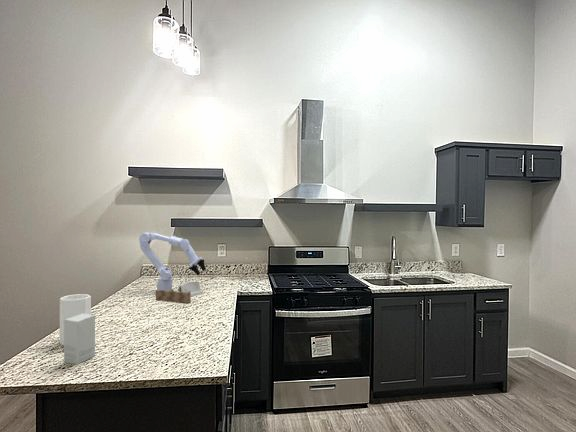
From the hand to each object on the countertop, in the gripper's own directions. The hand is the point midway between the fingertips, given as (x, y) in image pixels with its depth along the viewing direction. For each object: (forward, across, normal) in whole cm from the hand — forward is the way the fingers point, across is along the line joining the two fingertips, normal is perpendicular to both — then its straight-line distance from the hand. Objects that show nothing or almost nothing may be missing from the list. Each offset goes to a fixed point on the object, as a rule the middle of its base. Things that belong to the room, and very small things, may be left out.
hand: (201, 272), depth 245 cm
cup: (-9, -100, -4) cm, 101 cm away
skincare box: (-4, -114, -21) cm, 116 cm away
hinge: (+9, -12, +8) cm, 17 cm away
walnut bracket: (+5, -26, +7) cm, 28 cm away
